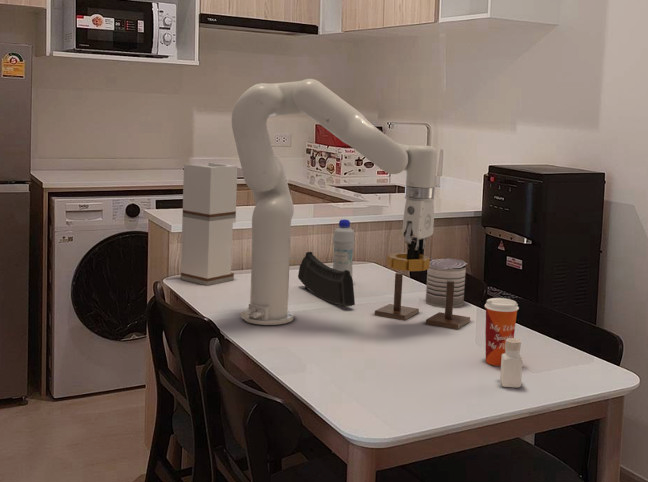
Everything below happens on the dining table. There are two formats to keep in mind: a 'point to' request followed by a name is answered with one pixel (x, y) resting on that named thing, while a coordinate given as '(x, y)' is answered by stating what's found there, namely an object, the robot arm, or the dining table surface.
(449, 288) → the right peg
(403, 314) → the left peg
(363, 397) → the dining table surface
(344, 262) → the bottle
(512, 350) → the salt shaker
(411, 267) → the ring
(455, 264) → the can
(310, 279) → the magazine
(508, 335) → the paper cup
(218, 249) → the banded square column
